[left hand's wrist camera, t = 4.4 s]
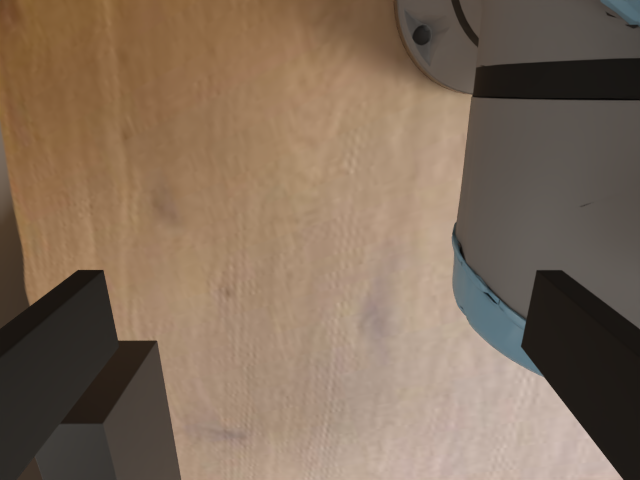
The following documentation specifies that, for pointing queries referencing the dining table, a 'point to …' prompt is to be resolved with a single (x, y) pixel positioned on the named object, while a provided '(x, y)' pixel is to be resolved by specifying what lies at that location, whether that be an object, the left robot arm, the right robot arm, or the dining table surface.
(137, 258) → the dining table surface
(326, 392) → the dining table surface
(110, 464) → the bar
